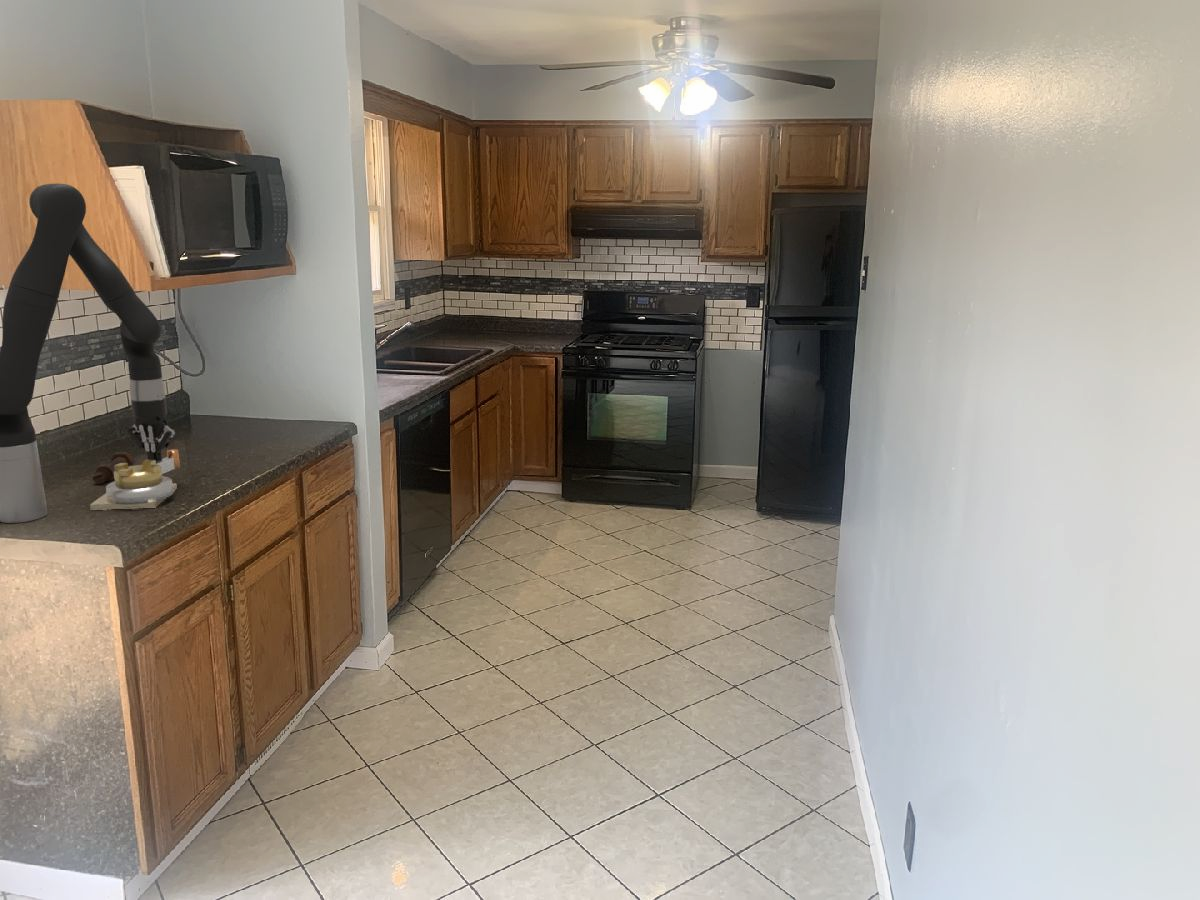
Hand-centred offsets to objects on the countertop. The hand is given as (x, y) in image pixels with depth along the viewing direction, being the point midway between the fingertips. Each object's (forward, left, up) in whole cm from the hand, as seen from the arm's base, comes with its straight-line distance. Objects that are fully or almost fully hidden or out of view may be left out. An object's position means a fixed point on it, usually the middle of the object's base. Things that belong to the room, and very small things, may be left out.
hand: (155, 465), depth 221 cm
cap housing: (-2, -9, -6) cm, 11 cm away
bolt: (-16, +13, -7) cm, 21 cm away
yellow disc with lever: (+1, -6, -1) cm, 6 cm away
